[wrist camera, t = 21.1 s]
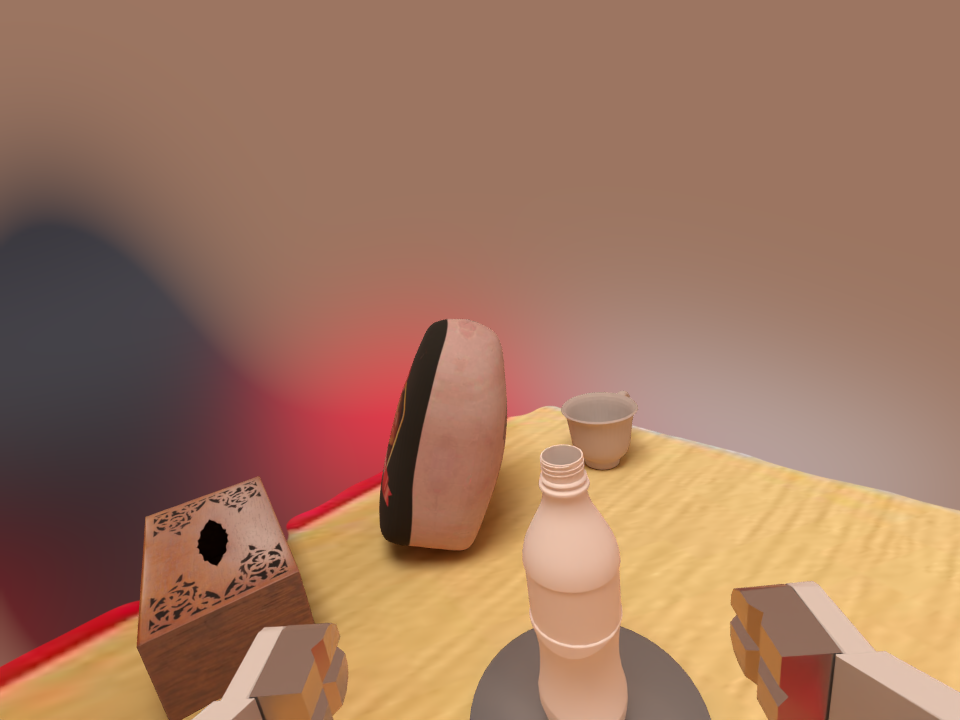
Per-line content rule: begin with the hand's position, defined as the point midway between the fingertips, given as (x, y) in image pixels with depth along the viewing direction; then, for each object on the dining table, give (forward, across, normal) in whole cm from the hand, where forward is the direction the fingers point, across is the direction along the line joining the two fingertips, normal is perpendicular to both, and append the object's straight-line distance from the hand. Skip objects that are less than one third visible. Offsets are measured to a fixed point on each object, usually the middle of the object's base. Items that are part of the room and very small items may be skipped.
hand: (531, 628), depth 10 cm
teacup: (+67, -14, +35) cm, 77 cm away
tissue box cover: (+40, +38, +35) cm, 65 cm away
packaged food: (+53, +11, +35) cm, 65 cm away
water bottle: (+23, -3, +34) cm, 41 cm away
